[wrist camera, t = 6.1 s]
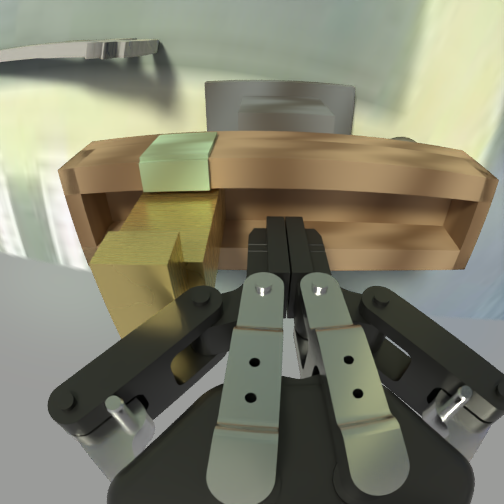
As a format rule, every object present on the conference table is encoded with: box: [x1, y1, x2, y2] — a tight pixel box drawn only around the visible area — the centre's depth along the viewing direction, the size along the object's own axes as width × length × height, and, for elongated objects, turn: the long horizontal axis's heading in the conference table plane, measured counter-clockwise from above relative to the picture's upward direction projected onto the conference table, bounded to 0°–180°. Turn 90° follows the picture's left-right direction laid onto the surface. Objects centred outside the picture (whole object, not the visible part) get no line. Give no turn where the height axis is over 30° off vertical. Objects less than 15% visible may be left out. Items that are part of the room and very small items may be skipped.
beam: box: [58, 80, 499, 273], centre depth 18 cm, size 22×10×10 cm, turn 90°
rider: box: [89, 188, 226, 339], centre depth 13 cm, size 4×5×9 cm
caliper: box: [0, 38, 159, 62], centre depth 14 cm, size 20×1×6 cm, turn 78°
